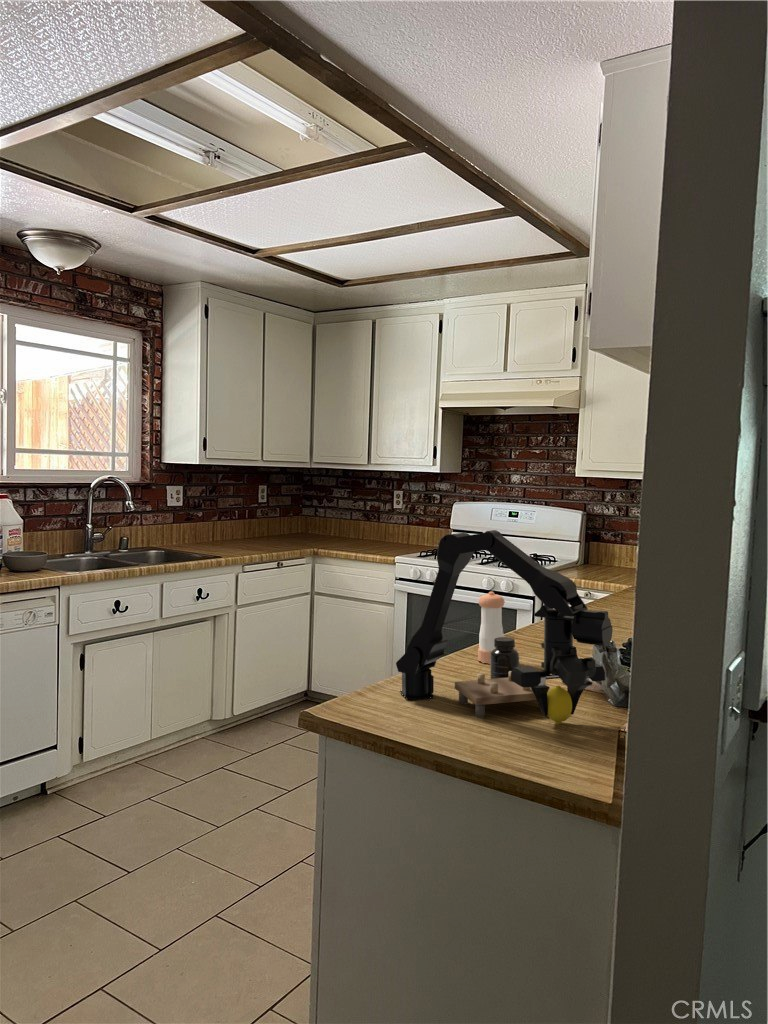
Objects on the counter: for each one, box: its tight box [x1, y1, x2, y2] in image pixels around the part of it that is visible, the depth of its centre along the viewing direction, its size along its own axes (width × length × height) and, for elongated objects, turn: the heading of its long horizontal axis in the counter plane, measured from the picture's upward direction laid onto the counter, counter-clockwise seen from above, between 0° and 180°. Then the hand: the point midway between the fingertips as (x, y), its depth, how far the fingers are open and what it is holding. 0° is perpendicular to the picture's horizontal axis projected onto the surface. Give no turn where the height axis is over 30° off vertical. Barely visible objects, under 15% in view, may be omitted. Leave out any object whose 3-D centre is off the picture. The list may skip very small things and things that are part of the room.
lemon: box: [547, 685, 572, 725], centre depth 157 cm, size 6×6×8 cm
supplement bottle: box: [489, 636, 520, 679], centre depth 183 cm, size 7×7×12 cm
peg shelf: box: [454, 671, 551, 719], centre depth 169 cm, size 18×13×6 cm
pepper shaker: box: [477, 591, 505, 664], centre depth 209 cm, size 7×7×19 cm
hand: (558, 715), depth 157 cm, fingers closed on lemon, 5 cm apart
